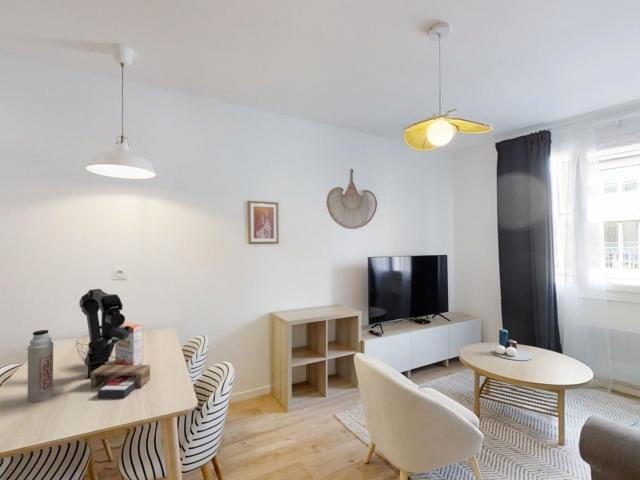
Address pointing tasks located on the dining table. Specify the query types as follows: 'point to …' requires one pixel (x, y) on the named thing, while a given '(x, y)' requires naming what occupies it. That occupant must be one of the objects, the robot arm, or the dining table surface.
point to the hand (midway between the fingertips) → (108, 356)
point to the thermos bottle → (40, 367)
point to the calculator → (118, 388)
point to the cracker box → (130, 346)
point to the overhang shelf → (120, 374)
